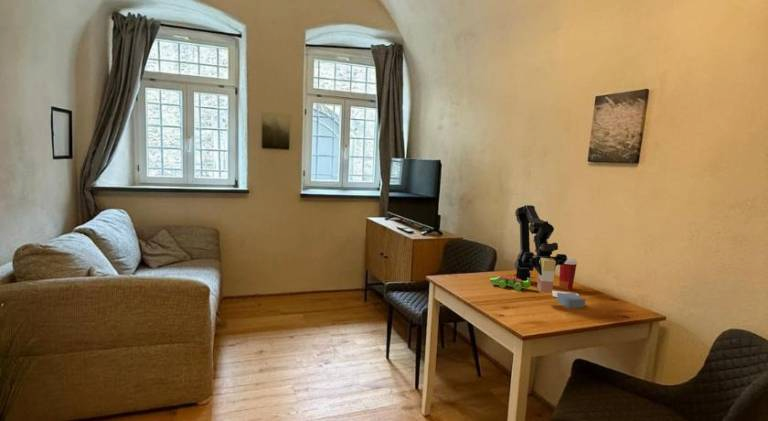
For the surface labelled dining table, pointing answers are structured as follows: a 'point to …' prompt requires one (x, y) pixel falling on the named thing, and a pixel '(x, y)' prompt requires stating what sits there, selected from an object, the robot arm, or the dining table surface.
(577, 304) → the base brick
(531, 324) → the dining table surface
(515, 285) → the green bumpy elongated piece
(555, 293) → the page
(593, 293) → the dining table surface
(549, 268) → the brick column
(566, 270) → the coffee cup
